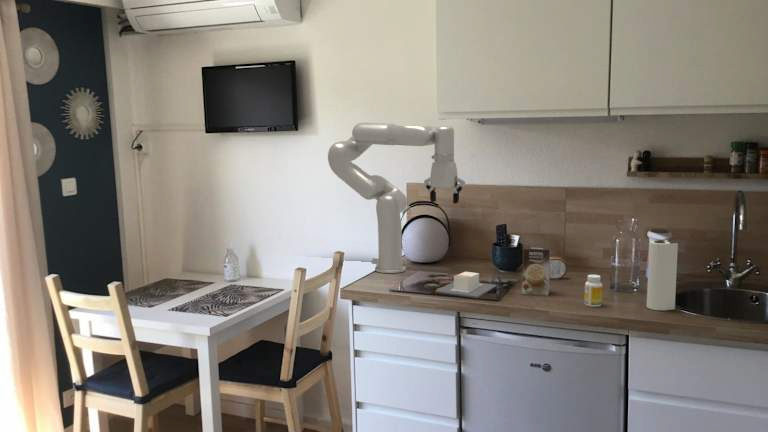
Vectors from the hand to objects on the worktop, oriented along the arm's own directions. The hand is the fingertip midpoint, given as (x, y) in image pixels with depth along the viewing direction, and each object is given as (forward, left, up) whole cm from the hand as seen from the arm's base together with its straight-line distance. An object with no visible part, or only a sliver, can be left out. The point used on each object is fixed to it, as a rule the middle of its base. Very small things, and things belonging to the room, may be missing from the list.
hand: (444, 202), depth 253 cm
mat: (+18, -19, -28) cm, 39 cm away
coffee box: (+41, -12, -28) cm, 51 cm away
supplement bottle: (+62, -18, -28) cm, 71 cm away
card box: (+18, -19, -28) cm, 38 cm away
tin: (+38, +10, -29) cm, 49 cm away
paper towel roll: (+81, -13, -28) cm, 87 cm away
